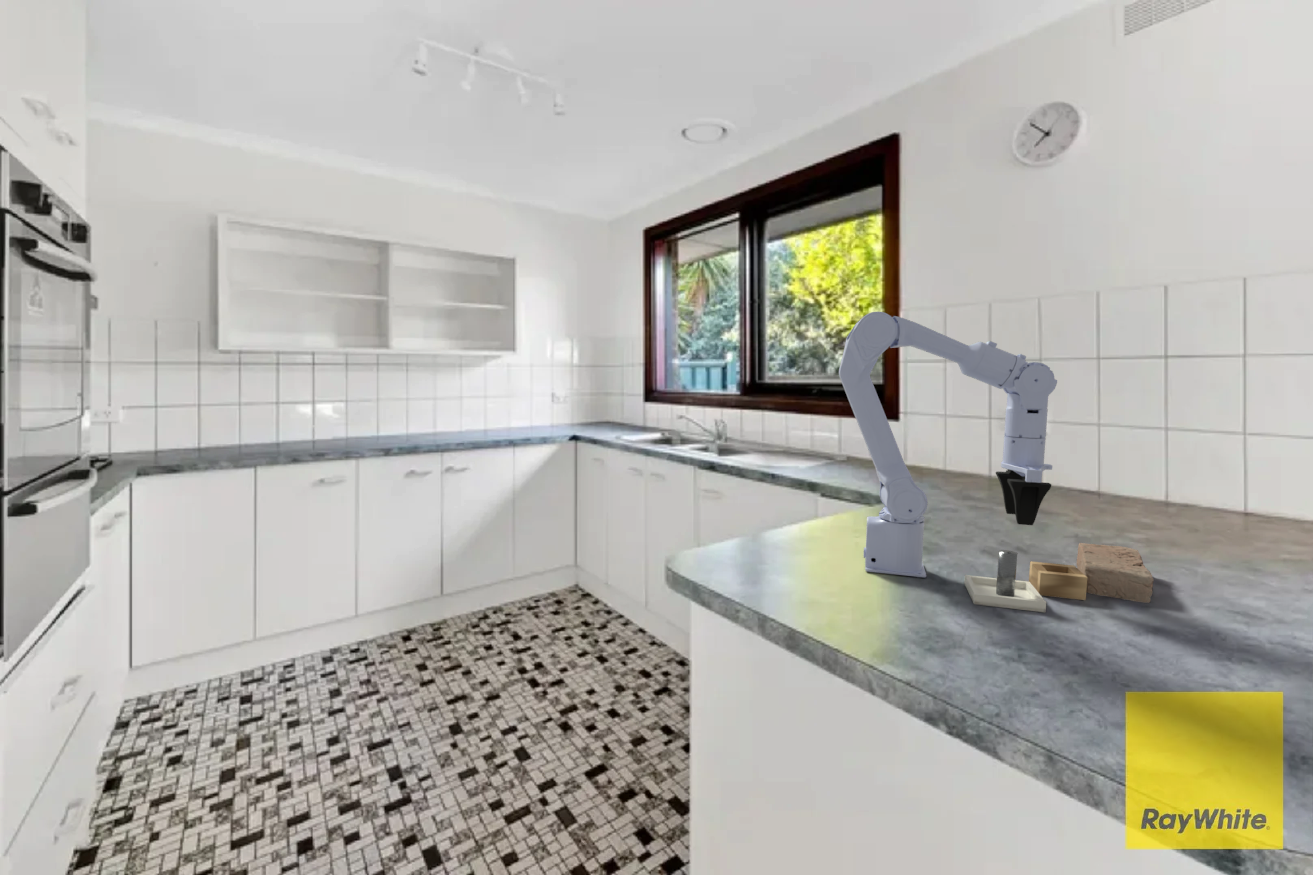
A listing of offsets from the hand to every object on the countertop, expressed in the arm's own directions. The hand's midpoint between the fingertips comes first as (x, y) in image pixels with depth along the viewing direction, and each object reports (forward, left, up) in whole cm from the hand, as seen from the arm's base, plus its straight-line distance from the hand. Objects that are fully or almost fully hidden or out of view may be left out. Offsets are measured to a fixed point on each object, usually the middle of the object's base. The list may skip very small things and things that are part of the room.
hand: (1019, 518), depth 96 cm
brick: (+14, +3, -10) cm, 18 cm away
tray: (-4, -11, -10) cm, 15 cm away
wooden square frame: (+4, -5, -10) cm, 12 cm away
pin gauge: (-4, -11, -9) cm, 15 cm away
